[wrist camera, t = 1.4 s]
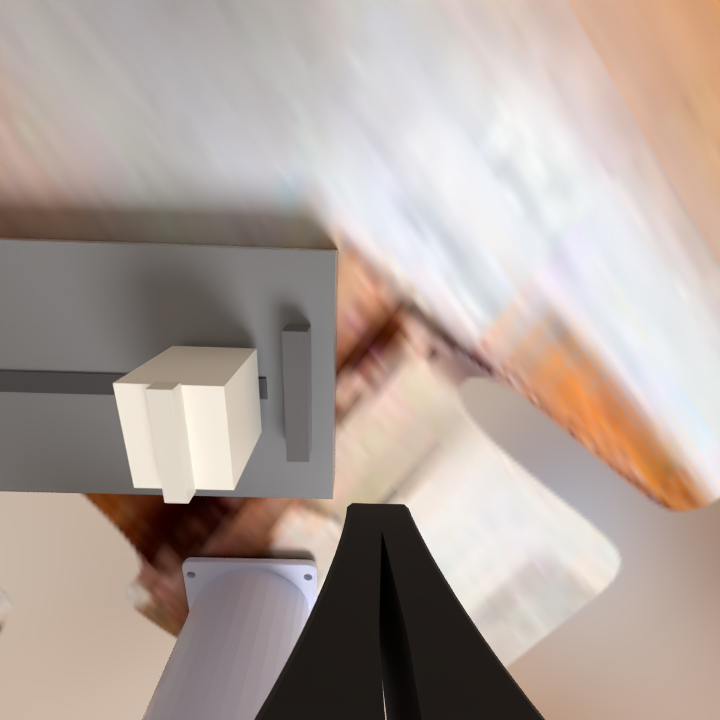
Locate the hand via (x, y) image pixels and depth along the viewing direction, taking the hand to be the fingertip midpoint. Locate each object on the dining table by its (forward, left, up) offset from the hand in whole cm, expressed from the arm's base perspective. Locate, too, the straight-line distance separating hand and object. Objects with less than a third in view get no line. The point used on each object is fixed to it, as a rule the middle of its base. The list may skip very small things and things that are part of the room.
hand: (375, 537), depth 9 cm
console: (0, +16, -10) cm, 19 cm away
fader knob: (0, +7, -8) cm, 10 cm away
